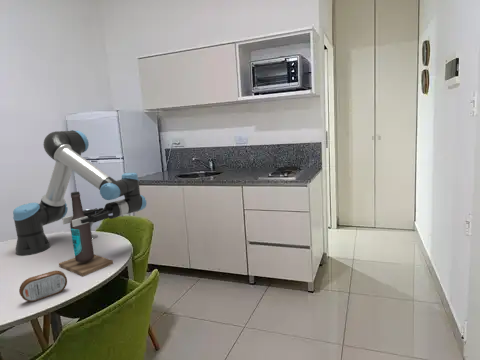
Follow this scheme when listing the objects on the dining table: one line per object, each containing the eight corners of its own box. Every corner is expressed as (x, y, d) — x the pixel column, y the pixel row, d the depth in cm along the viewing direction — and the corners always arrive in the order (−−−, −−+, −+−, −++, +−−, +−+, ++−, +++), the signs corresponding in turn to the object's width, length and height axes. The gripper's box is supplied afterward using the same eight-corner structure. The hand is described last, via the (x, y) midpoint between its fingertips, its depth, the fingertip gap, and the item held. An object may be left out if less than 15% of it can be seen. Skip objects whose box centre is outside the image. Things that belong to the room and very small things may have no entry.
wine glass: (101, 234, 193) (98, 208, 190) (94, 239, 185) (90, 212, 182) (88, 235, 194) (84, 209, 191) (80, 239, 186) (76, 213, 183)
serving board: (59, 266, 150) (58, 263, 150) (89, 255, 161) (88, 252, 161) (82, 276, 138) (82, 272, 138) (113, 263, 149) (112, 260, 149)
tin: (67, 287, 129) (63, 266, 128) (69, 290, 127) (66, 269, 125) (21, 303, 120) (17, 280, 118) (22, 306, 117) (18, 283, 116)
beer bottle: (72, 260, 149) (61, 193, 144) (89, 254, 154) (79, 189, 149) (80, 263, 144) (69, 194, 139) (97, 257, 149) (87, 191, 144)
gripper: (130, 219, 155) (81, 234, 137) (105, 214, 167) (57, 227, 149) (128, 203, 153) (78, 216, 136) (103, 199, 166) (54, 211, 148)
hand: (67, 222), depth 142 cm, fingers closed on beer bottle, 7 cm apart
